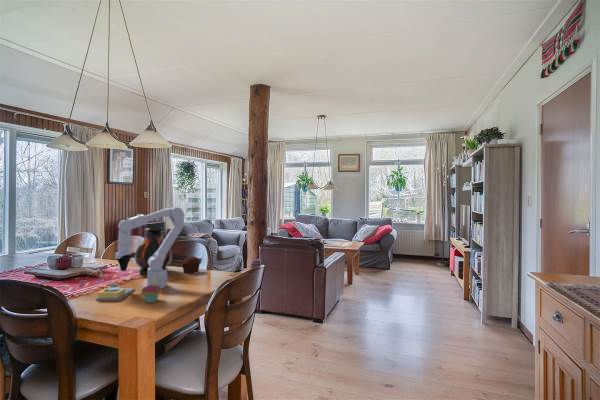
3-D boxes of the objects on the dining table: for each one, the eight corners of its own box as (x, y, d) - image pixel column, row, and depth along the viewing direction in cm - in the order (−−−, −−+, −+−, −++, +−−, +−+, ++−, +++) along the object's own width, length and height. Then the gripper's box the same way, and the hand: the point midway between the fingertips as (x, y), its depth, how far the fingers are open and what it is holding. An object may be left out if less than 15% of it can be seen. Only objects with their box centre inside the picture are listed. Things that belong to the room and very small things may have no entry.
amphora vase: (137, 269, 207) (139, 226, 207) (173, 268, 213) (174, 226, 213) (130, 277, 186) (132, 229, 186) (170, 275, 192) (171, 229, 192)
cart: (107, 293, 150) (108, 284, 150) (118, 292, 152) (119, 283, 152) (107, 297, 145) (107, 288, 145) (118, 296, 147) (119, 287, 147)
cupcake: (155, 296, 152) (156, 271, 152) (164, 300, 146) (165, 274, 146) (137, 300, 145) (138, 274, 145) (146, 305, 140) (146, 277, 140)
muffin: (180, 271, 205) (181, 255, 205) (198, 269, 211) (198, 254, 211) (183, 275, 195) (183, 258, 195) (201, 273, 200) (202, 257, 200)
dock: (134, 290, 160) (134, 283, 160) (119, 300, 144) (119, 292, 144) (113, 290, 159) (114, 283, 159) (96, 300, 143) (96, 292, 143)
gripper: (122, 241, 167) (122, 267, 167) (108, 245, 153) (108, 273, 153) (136, 242, 168) (135, 267, 168) (124, 246, 154) (123, 273, 154)
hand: (123, 270), depth 161 cm, fingers closed
